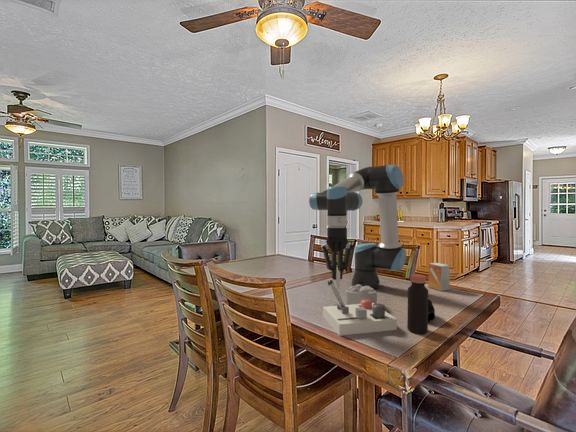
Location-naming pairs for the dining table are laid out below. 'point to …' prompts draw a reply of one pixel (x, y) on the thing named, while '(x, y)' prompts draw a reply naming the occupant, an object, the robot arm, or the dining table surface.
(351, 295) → the lumpy-topped squat cylinder
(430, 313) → the fried shrimp in bowl
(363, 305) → the button red
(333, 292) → the lever
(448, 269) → the small box
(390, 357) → the dining table surface
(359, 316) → the slider knob
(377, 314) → the button black
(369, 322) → the panel
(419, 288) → the bottle
